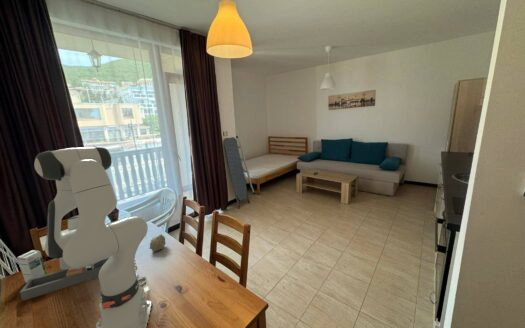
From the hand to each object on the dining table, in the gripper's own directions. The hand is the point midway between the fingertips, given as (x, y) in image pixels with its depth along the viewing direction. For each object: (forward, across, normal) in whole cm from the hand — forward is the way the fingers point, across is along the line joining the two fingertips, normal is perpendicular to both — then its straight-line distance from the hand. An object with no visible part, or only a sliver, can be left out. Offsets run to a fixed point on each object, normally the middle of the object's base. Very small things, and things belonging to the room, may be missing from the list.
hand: (90, 269), depth 105 cm
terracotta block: (+1, -5, 0) cm, 5 cm away
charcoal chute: (+3, -7, 0) cm, 7 cm away
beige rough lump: (+3, +31, +5) cm, 32 cm away
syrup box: (+3, -24, +11) cm, 26 cm away
